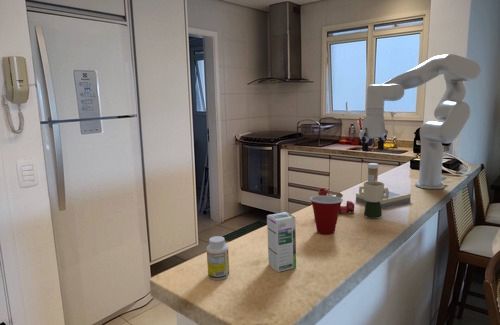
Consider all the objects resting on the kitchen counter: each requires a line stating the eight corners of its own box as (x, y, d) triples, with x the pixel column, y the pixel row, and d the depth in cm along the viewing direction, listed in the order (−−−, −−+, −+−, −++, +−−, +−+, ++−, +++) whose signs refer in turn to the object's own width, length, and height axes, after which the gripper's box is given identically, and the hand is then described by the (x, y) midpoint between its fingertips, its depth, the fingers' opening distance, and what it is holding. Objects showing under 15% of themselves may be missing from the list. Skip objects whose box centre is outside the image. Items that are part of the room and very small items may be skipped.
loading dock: (385, 194, 161) (385, 187, 160) (410, 202, 149) (410, 193, 149) (355, 201, 152) (356, 193, 152) (379, 209, 141) (379, 200, 141)
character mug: (390, 217, 132) (392, 183, 130) (384, 222, 127) (386, 187, 124) (361, 212, 139) (362, 179, 136) (355, 217, 133) (355, 183, 131)
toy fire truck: (355, 214, 136) (355, 190, 135) (318, 214, 138) (319, 190, 136) (353, 211, 140) (354, 187, 138) (318, 211, 141) (318, 188, 139)
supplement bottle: (218, 268, 97) (217, 233, 95) (233, 274, 93) (232, 237, 91) (203, 276, 92) (201, 239, 91) (218, 283, 89) (216, 245, 87)
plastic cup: (343, 227, 123) (344, 194, 121) (340, 239, 113) (341, 203, 111) (312, 224, 127) (312, 192, 125) (306, 236, 117) (306, 201, 115)
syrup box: (277, 273, 93) (276, 220, 91) (267, 263, 99) (266, 213, 96) (296, 268, 95) (296, 216, 93) (285, 259, 101) (285, 210, 98)
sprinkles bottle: (379, 192, 165) (380, 164, 162) (370, 193, 164) (371, 164, 161) (373, 190, 169) (374, 162, 167) (365, 191, 168) (366, 163, 166)
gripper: (381, 111, 167) (379, 147, 170) (354, 113, 159) (352, 150, 162) (395, 112, 160) (392, 149, 163) (366, 113, 152) (365, 153, 155)
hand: (372, 150), depth 163 cm, fingers open, 9 cm apart
